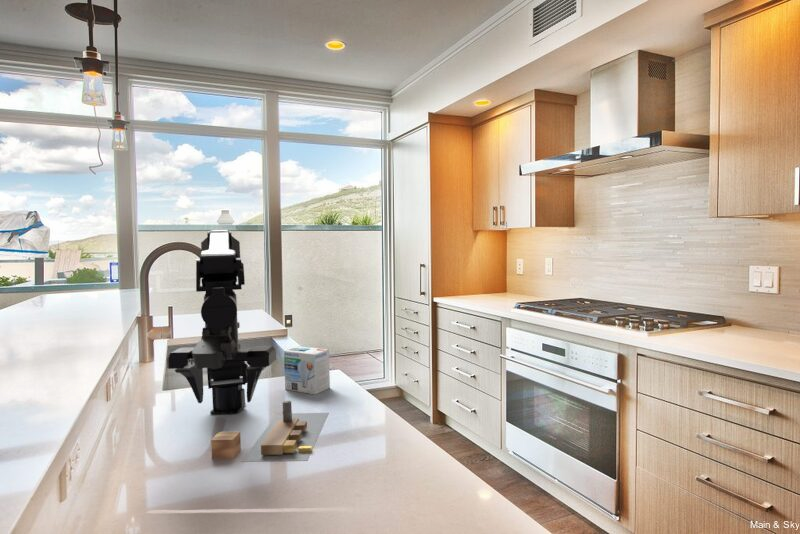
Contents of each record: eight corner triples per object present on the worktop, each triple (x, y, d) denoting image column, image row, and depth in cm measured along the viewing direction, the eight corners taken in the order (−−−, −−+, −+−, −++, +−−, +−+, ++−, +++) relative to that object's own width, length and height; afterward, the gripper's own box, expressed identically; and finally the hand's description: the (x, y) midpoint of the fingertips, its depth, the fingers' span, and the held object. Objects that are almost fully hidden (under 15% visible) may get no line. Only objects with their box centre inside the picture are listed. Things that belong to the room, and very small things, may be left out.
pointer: (298, 452, 95) (298, 448, 95) (299, 450, 96) (299, 446, 96) (311, 452, 95) (310, 448, 95) (312, 450, 96) (311, 445, 96)
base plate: (241, 463, 92) (241, 461, 92) (277, 415, 117) (277, 413, 117) (307, 462, 92) (307, 460, 92) (328, 414, 117) (328, 412, 117)
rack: (261, 454, 94) (260, 424, 93) (280, 426, 108) (279, 399, 107) (293, 454, 94) (292, 423, 93) (308, 426, 108) (307, 399, 107)
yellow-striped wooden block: (212, 461, 93) (211, 439, 93) (220, 451, 97) (219, 431, 97) (233, 460, 93) (232, 439, 93) (241, 451, 97) (240, 431, 97)
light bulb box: (284, 390, 137) (282, 350, 136) (300, 383, 143) (298, 345, 142) (316, 394, 132) (314, 354, 131) (331, 387, 138) (329, 348, 137)
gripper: (149, 328, 86) (154, 418, 87) (258, 326, 86) (262, 416, 87) (178, 318, 97) (182, 397, 98) (275, 316, 97) (278, 396, 98)
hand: (224, 402), depth 95 cm, fingers open, 9 cm apart
